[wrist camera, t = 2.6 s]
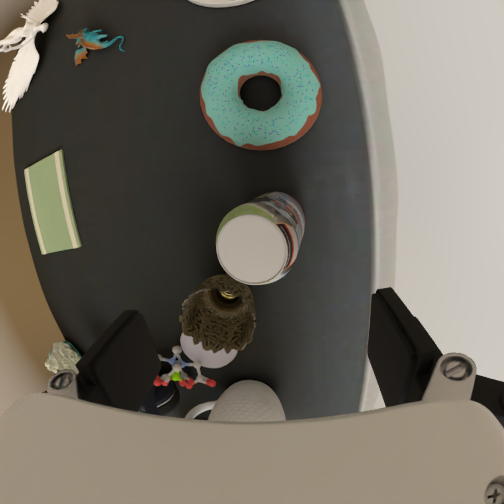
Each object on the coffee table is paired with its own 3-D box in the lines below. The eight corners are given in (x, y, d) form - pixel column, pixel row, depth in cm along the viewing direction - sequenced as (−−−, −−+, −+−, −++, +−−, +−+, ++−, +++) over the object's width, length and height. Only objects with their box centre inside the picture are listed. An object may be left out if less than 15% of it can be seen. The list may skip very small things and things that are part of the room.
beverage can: (303, 245, 30) (316, 299, 18) (236, 244, 30) (212, 296, 19) (305, 188, 28) (323, 208, 16) (235, 188, 28) (206, 208, 17)
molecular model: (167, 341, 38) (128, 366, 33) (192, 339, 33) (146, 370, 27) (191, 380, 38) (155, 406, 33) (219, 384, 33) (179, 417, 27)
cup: (249, 321, 34) (241, 363, 26) (194, 302, 33) (173, 339, 26) (270, 270, 31) (266, 306, 24) (208, 249, 31) (187, 278, 23)
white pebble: (172, 324, 33) (177, 316, 34) (182, 369, 35) (186, 361, 37) (234, 329, 32) (237, 321, 34) (237, 375, 35) (239, 366, 36)
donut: (290, 35, 22) (292, 19, 18) (336, 128, 25) (346, 124, 21) (189, 75, 24) (177, 64, 21) (230, 168, 28) (223, 170, 24)
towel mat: (25, 170, 30) (23, 170, 29) (63, 149, 28) (60, 149, 28) (43, 253, 34) (41, 254, 33) (82, 245, 33) (80, 247, 32)
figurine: (14, 2, 14) (74, -7, 22) (-18, 119, 24) (42, 109, 31) (1, -21, 5) (73, -35, 13) (-44, 119, 15) (26, 104, 22)
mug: (203, 412, 41) (185, 472, 29) (184, 369, 38) (156, 436, 25) (289, 411, 39) (289, 478, 27) (284, 366, 35) (283, 444, 23)
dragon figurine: (131, 4, 20) (74, 16, 18) (123, 32, 19) (59, 47, 17) (132, 36, 26) (81, 46, 24) (127, 68, 26) (71, 79, 23)
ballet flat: (134, 422, 47) (121, 448, 39) (52, 344, 41) (31, 367, 34) (156, 418, 44) (143, 447, 37) (66, 330, 39) (41, 356, 31)
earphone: (213, 429, 45) (250, 497, 28) (183, 442, 42) (212, 513, 26) (162, 357, 39) (185, 438, 22) (126, 374, 37) (132, 458, 20)
